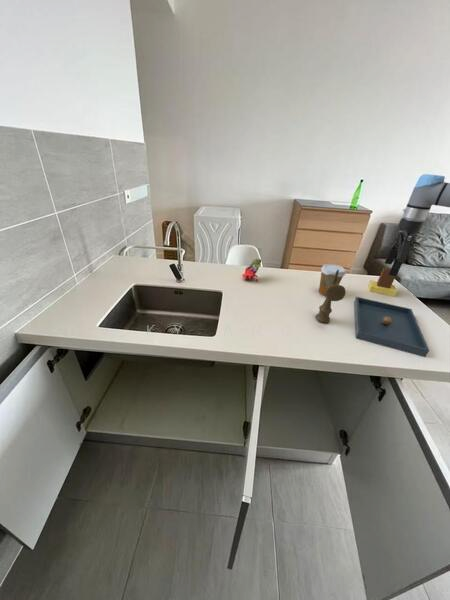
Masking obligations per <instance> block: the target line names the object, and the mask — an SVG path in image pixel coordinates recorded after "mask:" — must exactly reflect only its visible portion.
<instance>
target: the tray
mask: <svg viewBox="0 0 450 600" xmlns="http://www.w3.org/2000/svg"><path fill="white" fill-rule="evenodd" d="M353 306H354V307H353V309H354V325H355V339H357V340H361V341H365V342H369V343H372V344H375V345H376V344H377V345H380V346H383V347H387V348H391V349H394V350H399V351H402V352H406V353H409V354H413V355H416V356H420V357H424V358H426V357H427V355H428V354H429V352H430V348H429V347H428V343H427V342H426V339H425V337H424V335H423V332H422V330H421V328H420V325H419V323H418V321H417V319H416V316H415V314H414V312H413V308H408V307H405V306H399V305H395V304H391V303H386V302H382V301H377V300H372V299H369V298H365V297H360V296H355V298H354V301H353ZM386 316H387V317H390V318H391V320H392V322H391V324H389V325H385V324H383V323H382V318H383V317H386Z"/></svg>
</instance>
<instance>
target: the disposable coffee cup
mask: <svg viewBox="0 0 450 600" xmlns="http://www.w3.org/2000/svg"><path fill="white" fill-rule="evenodd" d="M320 270H321V271H320V272H321V274H320V280H319V287H318V293H319V294H320V296H324V297H326V291H327V289H328V288H325V287H323V286H322V279H323V277H324V276H326V275H328V274H333V275H335V274H336V271H337V270H339V272H338V276H337V277H338V279H339V281H338V284H337V285H340V283H341V281H342V279H343V277H344V276H345V275H346V269H345V268H344V267H342V266H341V265H338V264H333V263H325V264H323V265H322V267H321V268H320Z"/></svg>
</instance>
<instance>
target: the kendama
mask: <svg viewBox="0 0 450 600" xmlns="http://www.w3.org/2000/svg"><path fill="white" fill-rule="evenodd" d="M338 272H339V270H337V271H336V274H335V275H333V274H328V275H326V276H324V277H323V279H322V286H323V287H325V288H328V289H327V291H326V296H325V300H324V301H323V303H322V304H321V305H319V307H318V309H319V312H318V313H316V314H315V319H316V320H317V321H318V322H320V323H322V324H327V323H330V321H331V318H330V314H331V313H333V310H332V302H339V301H342V299H344V297H345V296H346V287H344V286H343V285H341V284H339V285H337V284H338V281H339V279H338V277H337V276H338Z"/></svg>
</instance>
